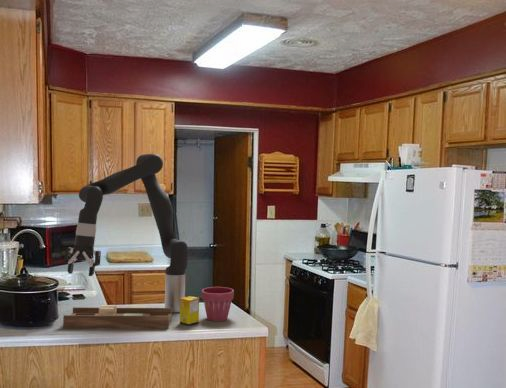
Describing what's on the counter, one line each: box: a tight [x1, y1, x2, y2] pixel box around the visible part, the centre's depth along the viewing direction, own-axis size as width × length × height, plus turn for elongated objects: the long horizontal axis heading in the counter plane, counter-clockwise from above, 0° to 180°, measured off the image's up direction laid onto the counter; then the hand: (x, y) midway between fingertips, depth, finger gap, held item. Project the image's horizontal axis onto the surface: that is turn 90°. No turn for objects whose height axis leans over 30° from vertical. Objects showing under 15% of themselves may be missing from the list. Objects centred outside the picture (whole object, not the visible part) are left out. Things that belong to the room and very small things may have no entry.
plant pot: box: [201, 286, 235, 322], centre depth 218 cm, size 14×14×13 cm
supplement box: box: [179, 295, 200, 327], centre depth 209 cm, size 6×6×11 cm
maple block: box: [98, 304, 118, 315], centre depth 205 cm, size 6×6×4 cm
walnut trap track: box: [62, 306, 173, 330], centre depth 205 cm, size 14×42×5 cm, turn 94°
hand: (80, 274), depth 197 cm, fingers open, 8 cm apart
